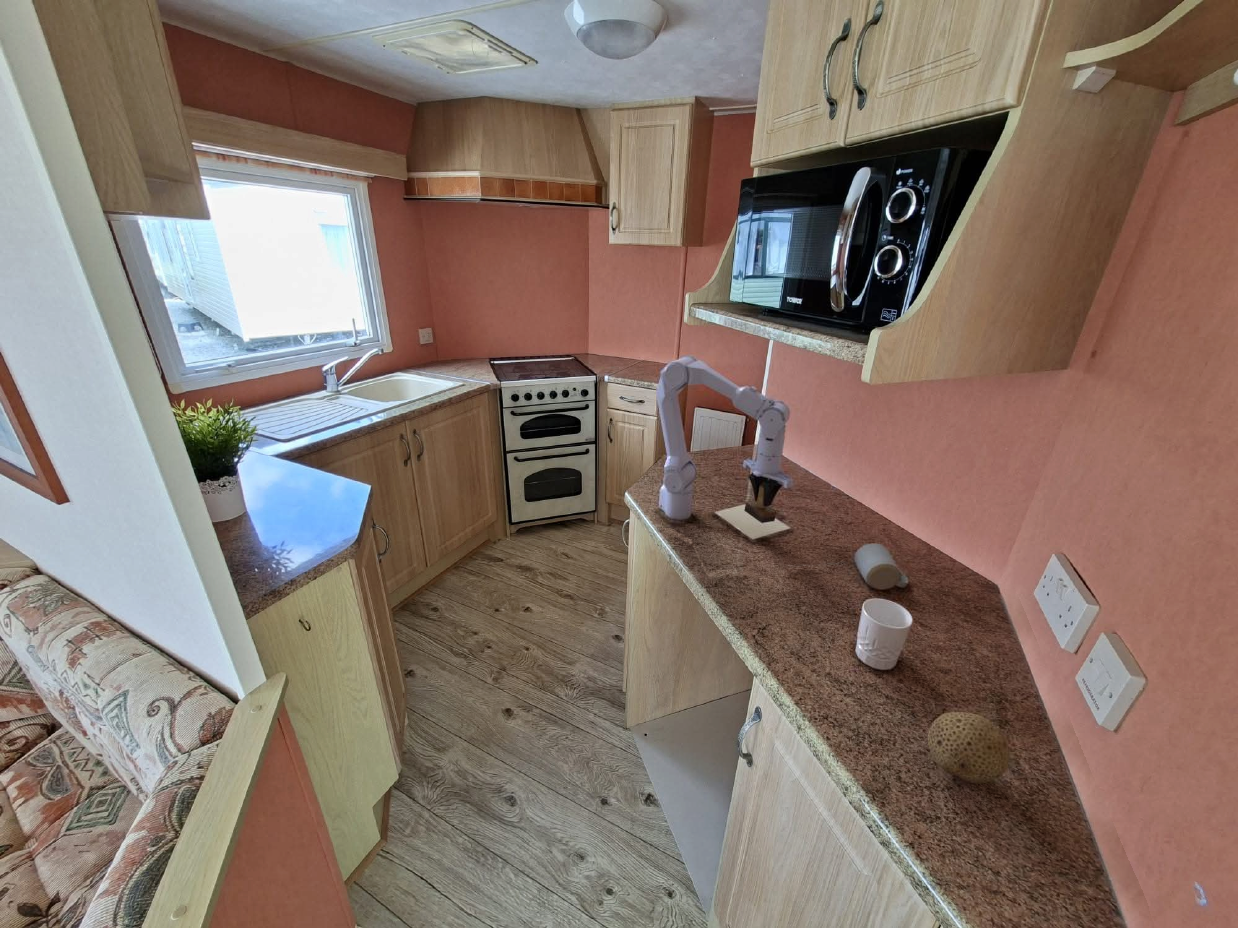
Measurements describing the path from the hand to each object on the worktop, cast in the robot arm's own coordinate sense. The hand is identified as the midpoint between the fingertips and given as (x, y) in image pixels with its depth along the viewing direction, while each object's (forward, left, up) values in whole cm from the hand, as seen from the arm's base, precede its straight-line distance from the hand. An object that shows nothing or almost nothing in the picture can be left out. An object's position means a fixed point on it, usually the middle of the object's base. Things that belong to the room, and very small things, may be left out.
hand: (762, 502), depth 123 cm
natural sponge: (+61, -17, -11) cm, 65 cm away
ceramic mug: (+26, +13, -11) cm, 31 cm away
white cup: (+41, -8, -11) cm, 43 cm away
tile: (-7, +4, -10) cm, 13 cm away
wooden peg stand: (0, -1, -3) cm, 4 cm away
